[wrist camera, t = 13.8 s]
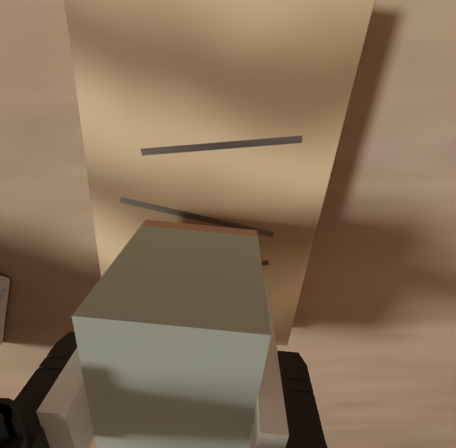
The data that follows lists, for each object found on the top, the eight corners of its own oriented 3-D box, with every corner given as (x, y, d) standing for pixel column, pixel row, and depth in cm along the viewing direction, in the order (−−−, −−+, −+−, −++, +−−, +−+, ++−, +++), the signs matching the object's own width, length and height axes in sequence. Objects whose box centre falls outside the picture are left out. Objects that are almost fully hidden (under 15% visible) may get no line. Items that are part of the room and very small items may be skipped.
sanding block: (145, 219, 12) (71, 316, 7) (257, 230, 12) (271, 335, 7) (150, 348, 16) (103, 482, 10) (238, 357, 16) (237, 495, 10)
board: (82, -18, 11) (59, -34, 10) (358, 10, 11) (375, -1, 10) (117, 310, 18) (107, 328, 17) (283, 326, 18) (287, 345, 17)
